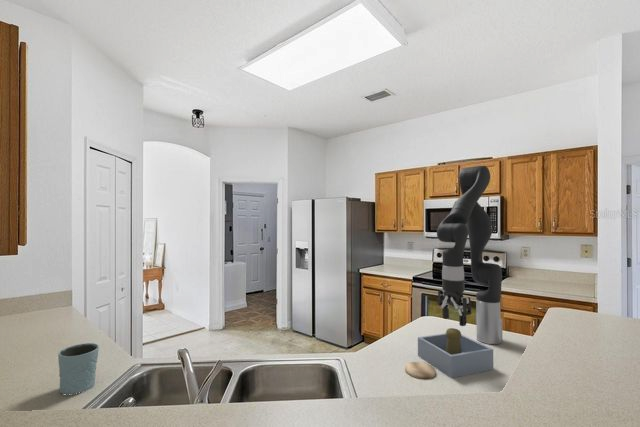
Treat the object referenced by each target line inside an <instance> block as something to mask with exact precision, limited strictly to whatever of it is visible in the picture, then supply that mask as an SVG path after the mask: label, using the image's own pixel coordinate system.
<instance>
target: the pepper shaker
mask: <svg viewBox="0 0 640 427" xmlns="http://www.w3.org/2000/svg"><path fill="white" fill-rule="evenodd" d="M445 333H446V336H447V338H448V339H447V346H446V352H447V353H449V354H451V355H454V354H459V353H462V352H461V345H460V338H461V334H462V332H461V331H460V329H457V328H454V327H452V328H451V327H450V328H447V329H446V331H445Z"/></svg>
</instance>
